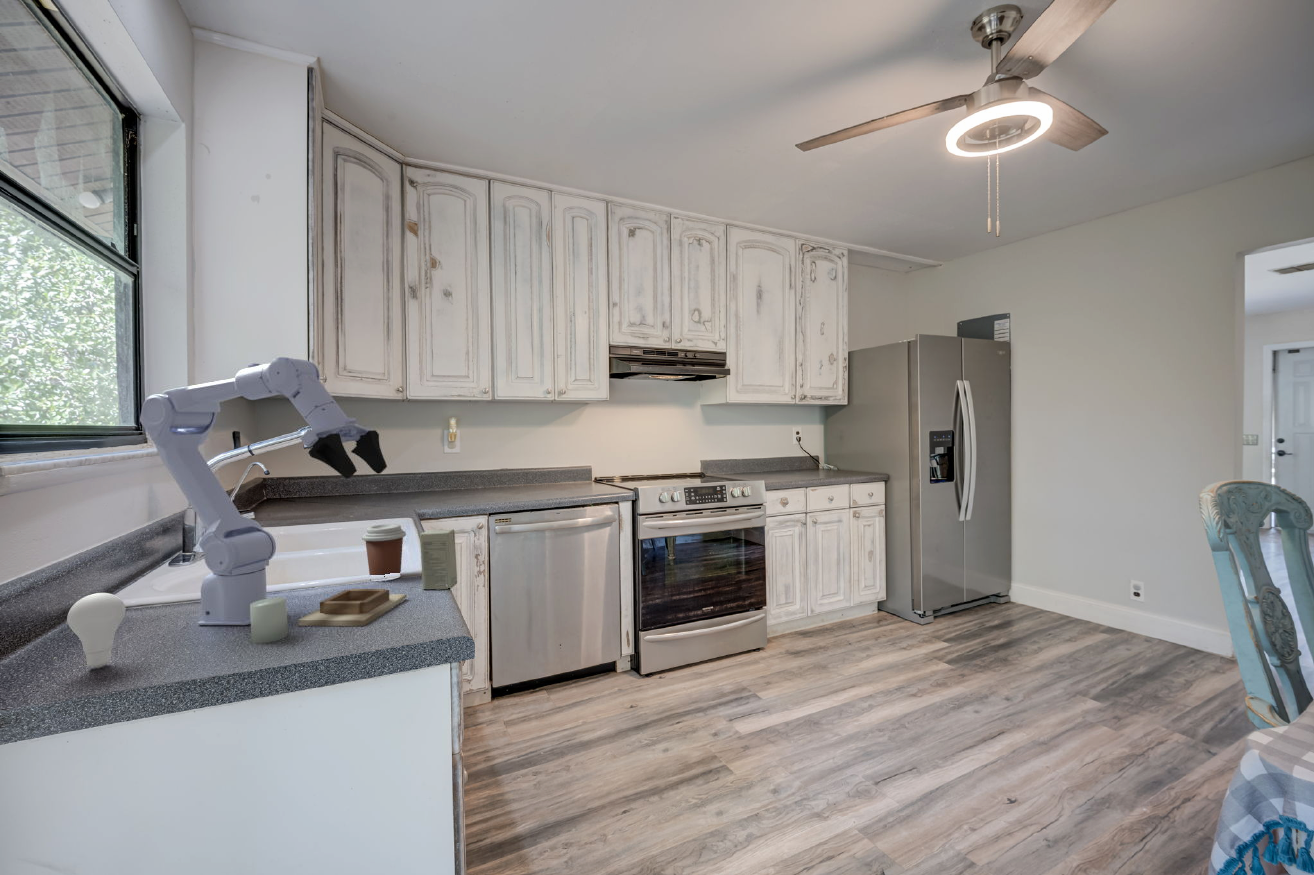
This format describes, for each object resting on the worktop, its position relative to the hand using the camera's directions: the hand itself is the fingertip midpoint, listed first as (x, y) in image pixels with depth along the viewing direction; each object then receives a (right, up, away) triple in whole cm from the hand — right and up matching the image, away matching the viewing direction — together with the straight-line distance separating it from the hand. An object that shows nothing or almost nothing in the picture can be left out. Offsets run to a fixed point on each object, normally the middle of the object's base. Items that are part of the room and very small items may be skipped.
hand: (367, 472), depth 99 cm
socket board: (-7, -27, +8) cm, 29 cm away
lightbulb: (-32, -28, -15) cm, 45 cm away
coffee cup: (-12, -27, +32) cm, 43 cm away
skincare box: (+3, -27, +24) cm, 36 cm away
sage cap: (-14, -27, -4) cm, 31 cm away
